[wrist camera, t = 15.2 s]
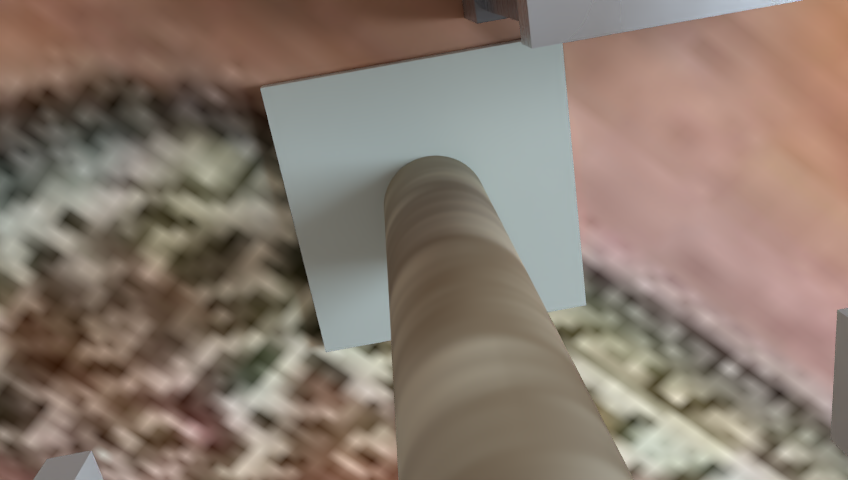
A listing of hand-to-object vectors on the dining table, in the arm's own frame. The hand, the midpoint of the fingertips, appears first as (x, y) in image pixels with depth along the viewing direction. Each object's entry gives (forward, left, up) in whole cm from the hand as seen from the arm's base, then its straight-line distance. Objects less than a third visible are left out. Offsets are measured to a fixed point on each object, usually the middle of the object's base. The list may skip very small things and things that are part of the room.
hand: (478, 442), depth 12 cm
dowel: (0, 0, -13) cm, 13 cm away
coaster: (0, 0, -14) cm, 14 cm away
